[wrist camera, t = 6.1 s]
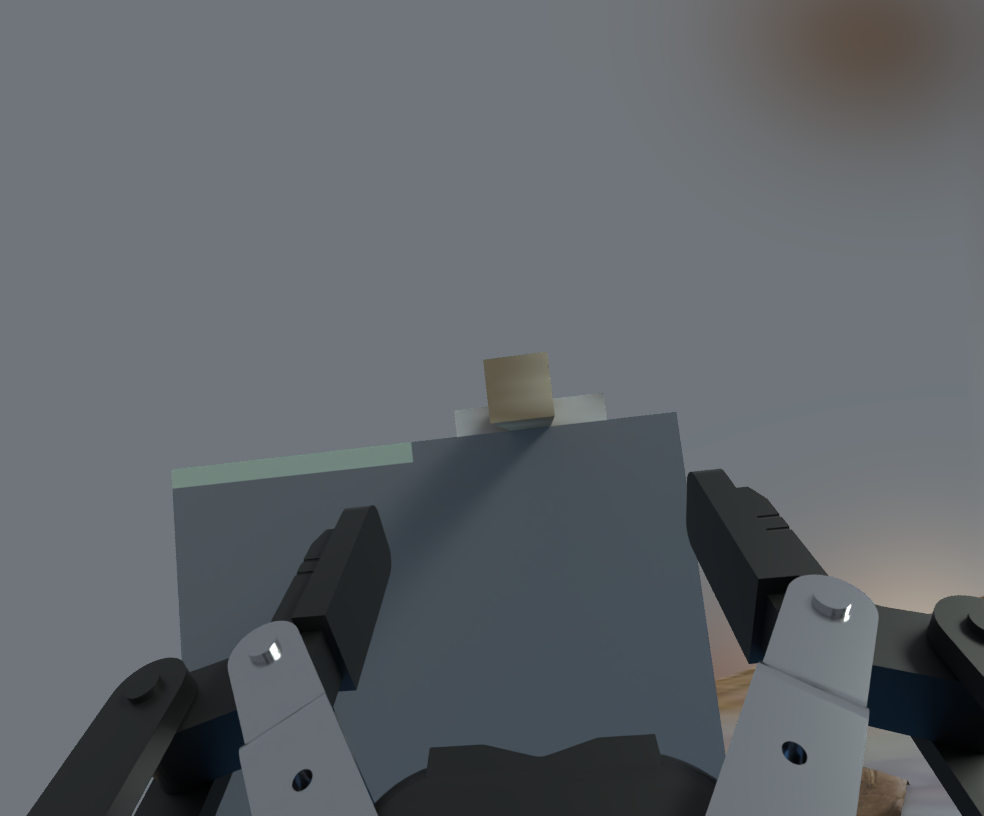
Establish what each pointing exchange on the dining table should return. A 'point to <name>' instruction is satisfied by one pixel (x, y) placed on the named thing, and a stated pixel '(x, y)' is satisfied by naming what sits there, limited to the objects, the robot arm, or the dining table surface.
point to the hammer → (525, 399)
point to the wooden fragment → (880, 794)
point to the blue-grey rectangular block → (477, 589)
